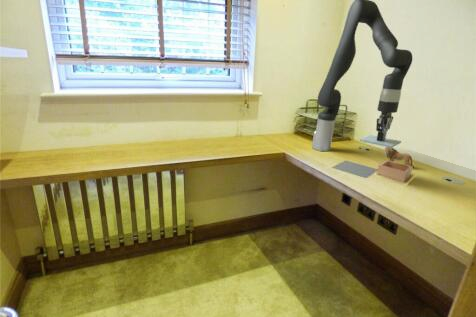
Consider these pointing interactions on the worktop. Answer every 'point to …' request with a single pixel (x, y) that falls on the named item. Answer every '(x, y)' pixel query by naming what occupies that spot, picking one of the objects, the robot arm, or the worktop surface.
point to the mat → (355, 169)
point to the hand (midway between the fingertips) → (380, 139)
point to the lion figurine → (397, 155)
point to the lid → (384, 142)
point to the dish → (394, 170)
